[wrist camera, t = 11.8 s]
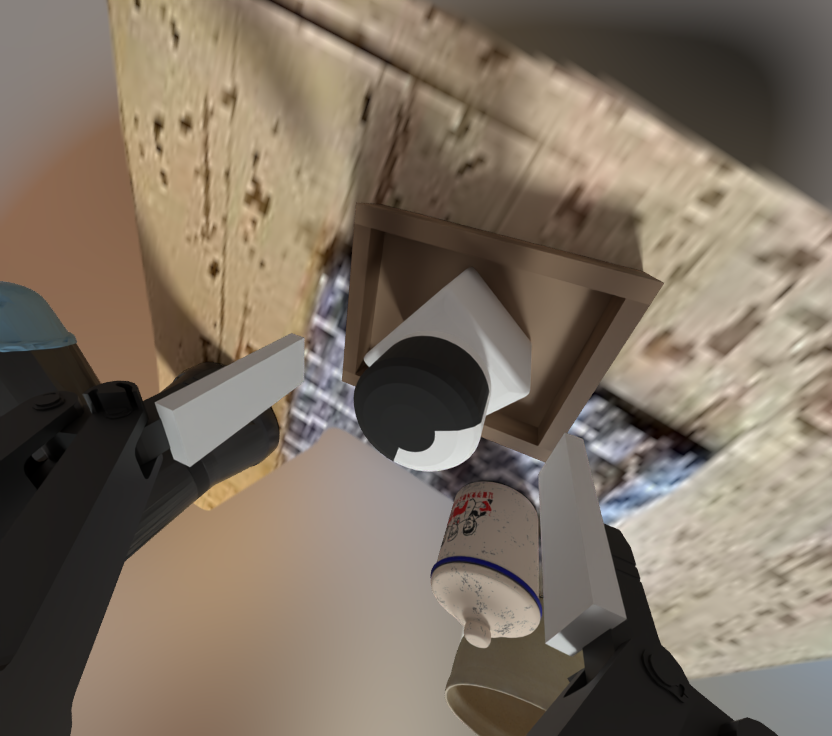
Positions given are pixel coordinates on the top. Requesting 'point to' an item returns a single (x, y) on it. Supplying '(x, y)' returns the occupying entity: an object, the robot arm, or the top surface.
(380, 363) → the medicine bottle
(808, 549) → the top surface
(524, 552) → the teacup with lid
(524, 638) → the planter bowl
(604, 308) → the holder tray
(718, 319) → the top surface
